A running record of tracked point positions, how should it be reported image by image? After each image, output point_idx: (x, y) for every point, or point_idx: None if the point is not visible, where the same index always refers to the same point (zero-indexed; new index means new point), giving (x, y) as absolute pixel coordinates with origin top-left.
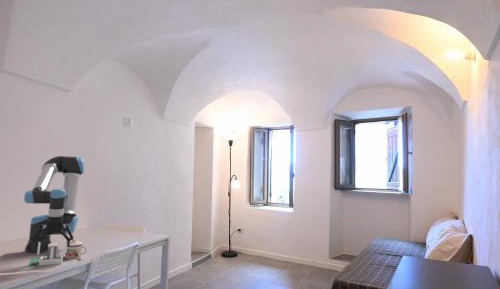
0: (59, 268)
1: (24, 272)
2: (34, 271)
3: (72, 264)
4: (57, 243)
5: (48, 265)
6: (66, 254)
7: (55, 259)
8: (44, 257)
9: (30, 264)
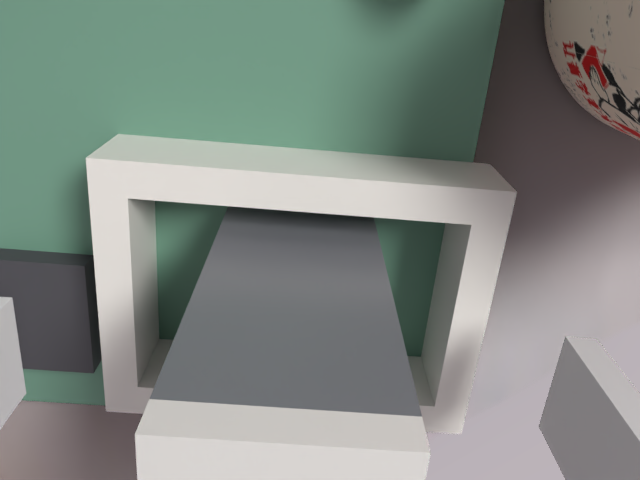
0: None
1: (13, 475)
2: (120, 477)
3: None
4: (418, 469)
5: None
6: (599, 78)
7: None
8: (157, 197)
9: None
